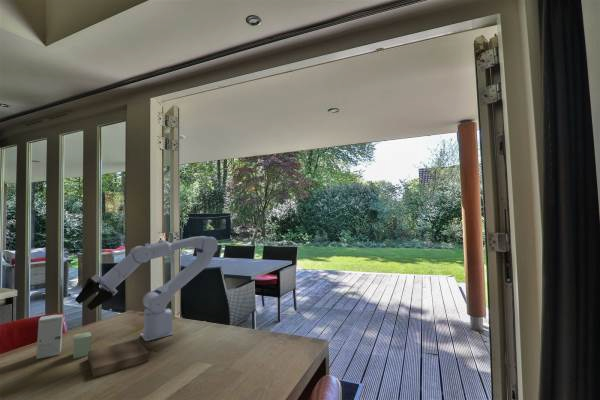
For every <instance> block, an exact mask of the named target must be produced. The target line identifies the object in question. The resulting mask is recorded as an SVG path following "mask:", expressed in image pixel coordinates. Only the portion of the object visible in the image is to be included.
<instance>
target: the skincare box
mask: <svg viewBox="0 0 600 400" xmlns="http://www.w3.org/2000/svg"><path fill="white" fill-rule="evenodd" d="M37 324H38V327H37V341H36V343H37V344H36V357H35V358H36V360H39V359H43V358H49V357H54V356H58V355H61V351H62V344H63V326H64V314H63V313H60V314H51V315H44V316H43V315H42V316H40V318H39V320H38V323H37Z"/></svg>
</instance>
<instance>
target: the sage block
mask: <svg viewBox="0 0 600 400" xmlns="http://www.w3.org/2000/svg"><path fill="white" fill-rule="evenodd" d="M72 336H73V339H72V340H73V341H72V356H73V359H79V358H83V357H86V356H87V357H88V351H92V345H93V344H92V341H93V339H92V333H91V331H87V332H83V333H77V334H74V335H72Z"/></svg>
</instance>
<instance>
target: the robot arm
mask: <svg viewBox="0 0 600 400" xmlns="http://www.w3.org/2000/svg"><path fill="white" fill-rule="evenodd" d="M191 247H192V248H195V251H196V258H195V259H194V260H193V261H192V262H191V263H190V264H188V265H187V266H186V267H185V268H184V269H182V270H181V271H180V272H178V273H177V274H176V275H174V276H173V277H172V278H171V279H170V280H169V281H167V282H166V283H165V284H164V285H161V286H159V287H157V288H155V289H154V290H150V291H148V292H147V293H145V295H144V296H143V298H142V304H143V306H144V308H145V309H144V311H143V332H142V333H140V336H141V338H142V339H143V340H144V341H145V342H148V341H153V340H156V339H161V338H164V337H168V336H171V335H174V333H173V312H172V309H171V308H167V306H168V305H169V303H170V302H171V301H172V299H173V297H174V295H175V294H176V293H177V292H178V291H180V290H181V289H182V288H184V286H186V285H187V284H188V283H189V282H190V281H191V280H193V279H194V278H195V277H196V276H198V275H199V274H200V273H201V272H202V271H203V270H205V269H206V268H207V267H209V265H210V263H211V261H212V259H213V257H214V255H215V253H216V252H217V251H218V240H217V239H216V238H215V237H214V236H206V235H200V236H191V237H188V238H183V239H180V240H177V241H176V240H175V241H171V242H168V240H163V239H159V240H158V241H157V242H154V243H153V242H152V243H149V242H148V243H144V245H137V246H134V247H132V248H131V249H130V251H129V253H128V254H127V255H126V256H125V257H124V258H122V259H121V260H120V261H119V262H117V263H116V264H115V265H114V266H113V267H112V268H110V270H109V271H107V272H106V273H105V274H104V275H103V276H100V275H98V274H97V273H95V274H94V275H93V276H92V277H88V278H87V280H86V282H85V284H84V286H83V288H82V290H81V291H80V292H79V293H78V294H77V296H76V297H75V298H74V300H75V302H76V303H77V304H79V305H80V304H82V303H84V302H85V301H87V300H88V299H90V297H92V296H94V295H95V294H96V295H95V296H94V297H93V298H92V299H91V301H90V302H88V303H87V305H86V307H87V309H89V310H90V311H93V310H94V309H96V308H97V307H99V306H101V305H103V304H104V303H107V302H109V301H112V300H114V299H115V295H116V294H117V293H118V292H119V291H118V290H117V289H116V288H117V287H118V286H119V285H120V284H121V283H122V282H123V281H125V280H126V279H127V278H128V277H129V276H130V275H131V274H132V273H133V272H134V271H135V270H137V268H138V267H139V266H140V265H142V263H147V262H149V261H150V260H153V259H158V258H161V257H165V256H169V255H170V254H171V252H172V251H178V250H182V249H187V248H191Z"/></svg>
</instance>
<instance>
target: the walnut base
mask: <svg viewBox="0 0 600 400" xmlns="http://www.w3.org/2000/svg"><path fill="white" fill-rule="evenodd" d="M87 362H88V364H89V367H90V371H91V375H92V378H97V377H101V376H103V375H104V376H105V375H107V374H110V373H113V372H117V371H120V370H124V369H127V368H130V367H134V366H136V365H140V364H143V363H147V362H149V352H148V350H147V349H146V348H145V346H144V345H143V344H142V342H141V341H140V340H139V339H138V338H136V339H133V340H128V341H124V342H121V343H117V344H111V345H108V346H105V347H101V348H97V349H93V350H92V349H91V351H88V355H87Z"/></svg>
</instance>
